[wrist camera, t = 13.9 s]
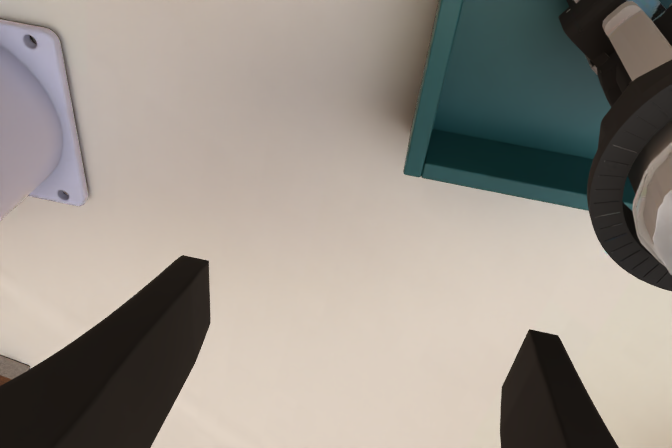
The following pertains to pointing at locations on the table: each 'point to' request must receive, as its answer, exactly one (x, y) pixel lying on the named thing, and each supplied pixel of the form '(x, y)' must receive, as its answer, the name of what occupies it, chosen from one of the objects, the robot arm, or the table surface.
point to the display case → (10, 369)
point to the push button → (630, 129)
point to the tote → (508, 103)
